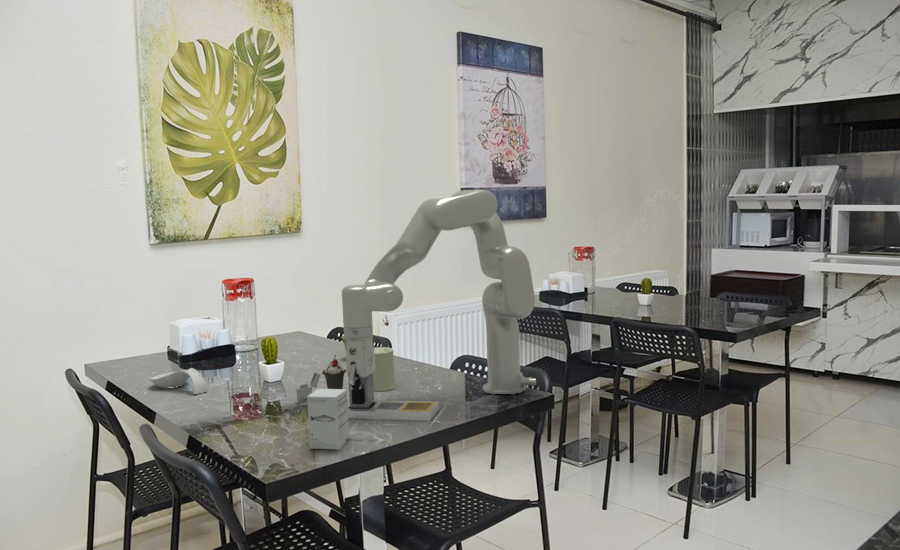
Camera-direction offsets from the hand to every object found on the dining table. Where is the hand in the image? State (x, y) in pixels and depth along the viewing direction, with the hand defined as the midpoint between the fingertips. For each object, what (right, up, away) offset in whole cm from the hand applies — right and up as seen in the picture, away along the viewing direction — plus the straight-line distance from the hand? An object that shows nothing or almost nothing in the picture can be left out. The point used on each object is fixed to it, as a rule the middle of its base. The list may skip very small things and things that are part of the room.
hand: (362, 400), depth 191 cm
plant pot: (-11, +2, +70) cm, 71 cm away
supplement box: (-5, -7, -21) cm, 23 cm away
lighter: (-17, -4, +18) cm, 25 cm away
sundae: (-8, -4, +11) cm, 14 cm away
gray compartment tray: (+7, -4, -1) cm, 9 cm away
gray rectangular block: (0, -3, 0) cm, 3 cm away
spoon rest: (-62, -3, +38) cm, 72 cm away
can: (+2, -2, +30) cm, 30 cm away
